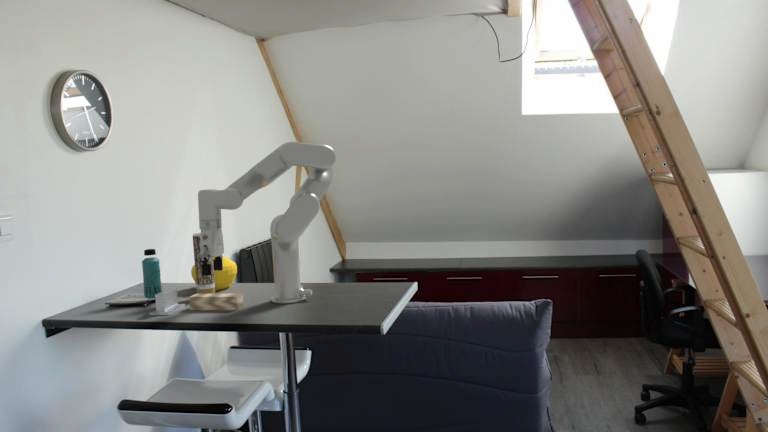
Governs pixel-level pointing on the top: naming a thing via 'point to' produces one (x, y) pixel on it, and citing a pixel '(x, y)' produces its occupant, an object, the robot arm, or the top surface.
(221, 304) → the beam
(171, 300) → the fulcrum
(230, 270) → the vase
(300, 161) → the robot arm
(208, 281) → the brown bark cylinder
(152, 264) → the beverage bottle
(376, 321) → the top surface
